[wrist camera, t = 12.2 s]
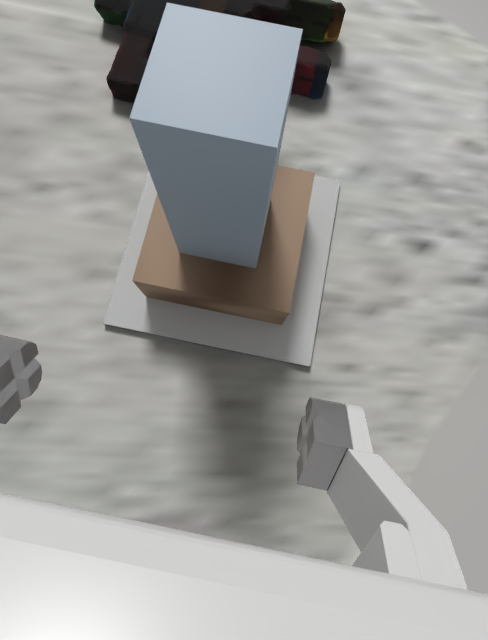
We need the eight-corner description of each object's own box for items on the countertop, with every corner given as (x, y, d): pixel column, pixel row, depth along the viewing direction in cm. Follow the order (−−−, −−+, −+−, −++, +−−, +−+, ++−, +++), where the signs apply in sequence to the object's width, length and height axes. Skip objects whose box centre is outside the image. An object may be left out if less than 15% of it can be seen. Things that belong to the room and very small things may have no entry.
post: (179, 252, 18) (129, 117, 10) (197, 183, 19) (166, 2, 10) (256, 268, 18) (277, 147, 9) (270, 199, 19) (302, 28, 10)
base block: (146, 297, 21) (132, 280, 18) (179, 177, 23) (171, 144, 20) (281, 325, 21) (289, 313, 18) (304, 202, 22) (315, 172, 20)
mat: (104, 324, 21) (102, 323, 20) (157, 147, 23) (156, 143, 23) (309, 366, 21) (310, 366, 20) (339, 183, 23) (340, 180, 23)
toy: (220, -67, 28) (218, -119, 25) (369, 65, 26) (386, 24, 23) (56, 39, 25) (34, -6, 23) (207, 194, 23) (204, 166, 20)
